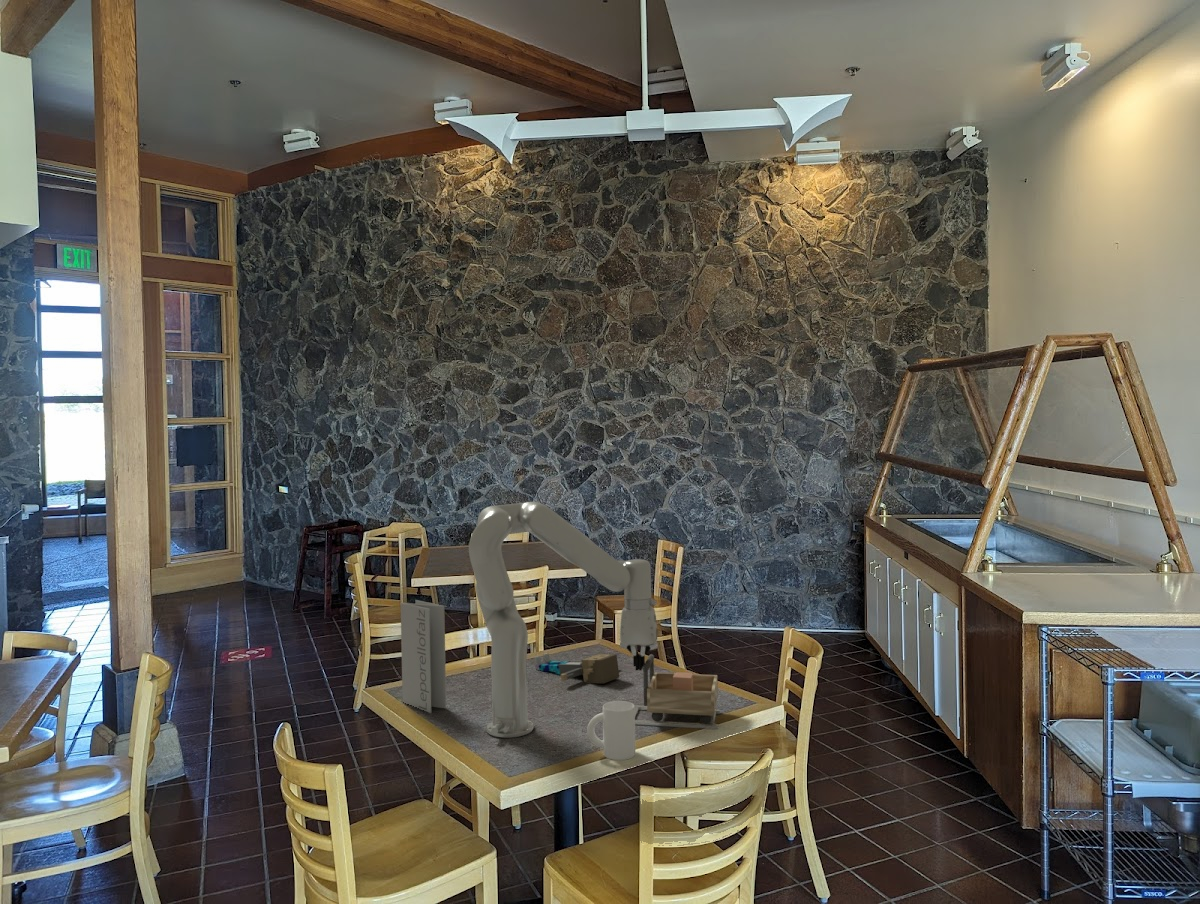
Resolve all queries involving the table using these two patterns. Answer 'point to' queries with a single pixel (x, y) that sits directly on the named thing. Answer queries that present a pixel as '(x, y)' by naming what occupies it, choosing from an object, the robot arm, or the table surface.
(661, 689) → the cart
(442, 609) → the brochure
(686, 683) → the block
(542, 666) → the toy
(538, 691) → the table surface
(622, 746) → the mug
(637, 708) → the rails
